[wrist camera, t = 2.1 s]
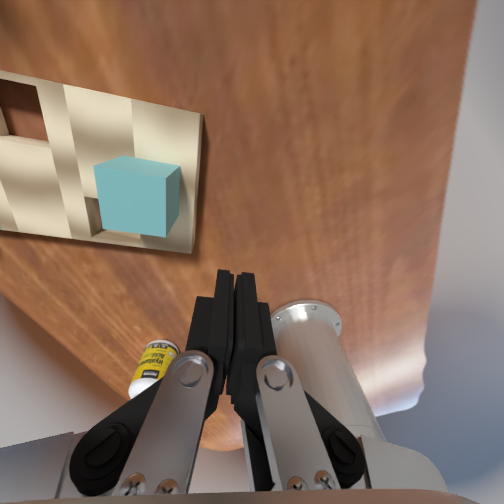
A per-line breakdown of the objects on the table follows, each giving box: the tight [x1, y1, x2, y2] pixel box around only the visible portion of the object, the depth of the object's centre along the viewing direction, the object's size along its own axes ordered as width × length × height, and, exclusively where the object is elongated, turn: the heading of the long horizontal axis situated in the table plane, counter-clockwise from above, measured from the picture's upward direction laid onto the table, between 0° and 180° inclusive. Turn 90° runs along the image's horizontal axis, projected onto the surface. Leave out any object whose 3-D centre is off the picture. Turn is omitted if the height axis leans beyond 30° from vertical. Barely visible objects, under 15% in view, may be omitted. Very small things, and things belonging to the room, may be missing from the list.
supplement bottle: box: [129, 340, 179, 400], centre depth 34 cm, size 5×5×10 cm
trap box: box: [0, 70, 203, 254], centre depth 21 cm, size 14×25×5 cm, turn 79°
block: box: [93, 156, 180, 237], centre depth 20 cm, size 5×5×5 cm
